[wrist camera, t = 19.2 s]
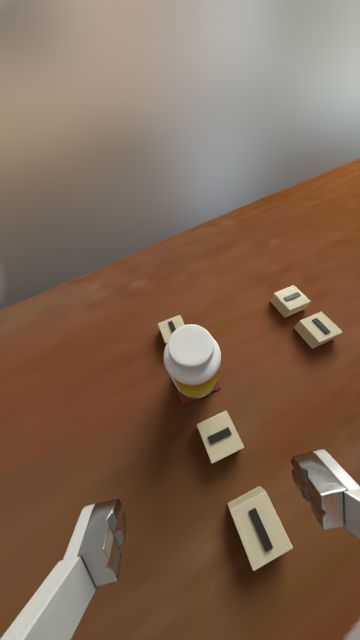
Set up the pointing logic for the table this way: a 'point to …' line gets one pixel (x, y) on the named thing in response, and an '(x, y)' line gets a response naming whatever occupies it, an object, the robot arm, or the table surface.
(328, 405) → the table surface
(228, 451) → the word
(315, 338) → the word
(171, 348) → the supplement bottle
